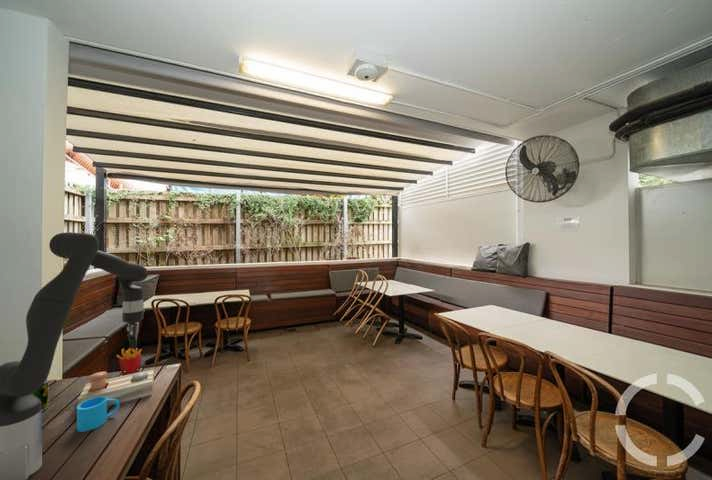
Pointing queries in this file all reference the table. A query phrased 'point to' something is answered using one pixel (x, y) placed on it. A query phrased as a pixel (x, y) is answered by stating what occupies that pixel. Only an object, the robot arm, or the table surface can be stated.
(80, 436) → the table surface
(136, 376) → the grey plug
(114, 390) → the plug console
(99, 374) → the terracotta plug
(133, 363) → the french fries
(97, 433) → the table surface
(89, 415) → the mug
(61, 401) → the table surface
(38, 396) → the beer can
